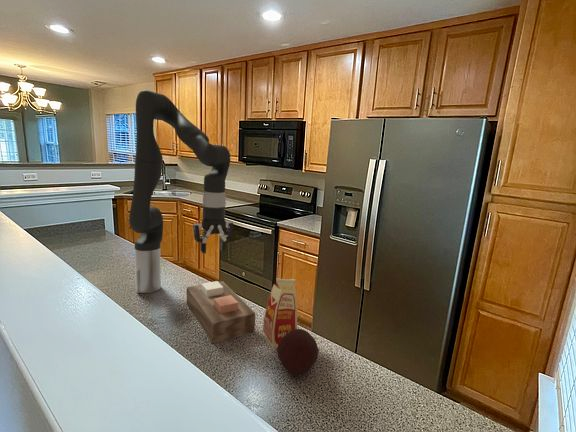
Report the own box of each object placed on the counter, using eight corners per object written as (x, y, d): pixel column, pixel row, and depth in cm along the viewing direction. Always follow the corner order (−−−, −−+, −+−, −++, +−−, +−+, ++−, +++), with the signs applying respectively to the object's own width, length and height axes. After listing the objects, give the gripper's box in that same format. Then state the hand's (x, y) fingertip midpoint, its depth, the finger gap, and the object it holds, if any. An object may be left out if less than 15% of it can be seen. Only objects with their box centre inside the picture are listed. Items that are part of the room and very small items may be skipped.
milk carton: (273, 348, 93) (277, 285, 89) (261, 332, 101) (264, 273, 97) (299, 341, 97) (304, 281, 94) (286, 326, 105) (290, 270, 102)
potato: (314, 354, 91) (317, 321, 89) (319, 387, 78) (323, 350, 76) (276, 352, 91) (278, 320, 89) (275, 385, 78) (277, 348, 76)
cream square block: (206, 300, 109) (206, 290, 108) (201, 293, 114) (201, 283, 113) (223, 297, 112) (223, 287, 111) (217, 291, 117) (217, 281, 116)
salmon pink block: (220, 318, 98) (220, 306, 97) (213, 309, 103) (213, 298, 102) (237, 313, 101) (238, 302, 101) (230, 306, 106) (231, 295, 106)
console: (212, 343, 93) (212, 323, 92) (186, 303, 116) (186, 287, 115) (254, 331, 101) (255, 313, 100) (222, 296, 124) (222, 281, 123)
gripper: (229, 202, 114) (228, 247, 117) (189, 203, 106) (189, 251, 109) (238, 206, 107) (236, 252, 111) (196, 207, 100) (195, 257, 103)
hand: (213, 251), depth 110 cm, fingers open, 6 cm apart
